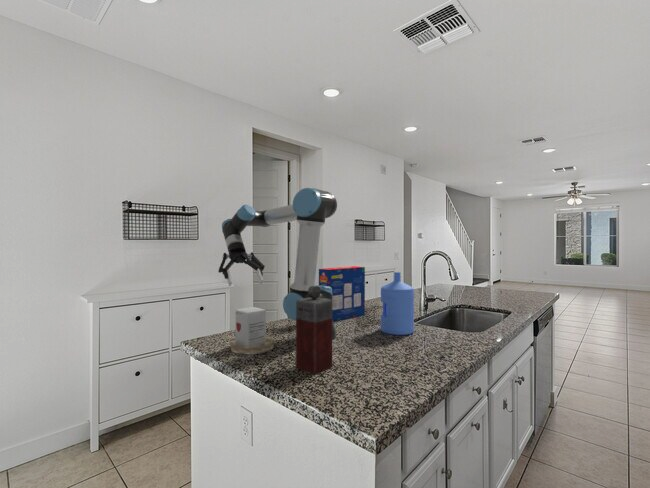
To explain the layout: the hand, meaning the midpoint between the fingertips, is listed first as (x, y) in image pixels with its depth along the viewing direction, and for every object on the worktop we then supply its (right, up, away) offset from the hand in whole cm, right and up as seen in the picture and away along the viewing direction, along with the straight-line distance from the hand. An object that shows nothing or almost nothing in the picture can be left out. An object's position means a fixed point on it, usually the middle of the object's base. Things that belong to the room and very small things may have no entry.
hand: (246, 283), depth 148 cm
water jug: (+68, -25, +18) cm, 75 cm away
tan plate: (+4, -25, -7) cm, 27 cm away
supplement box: (+3, -25, -7) cm, 26 cm away
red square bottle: (+29, -26, -28) cm, 48 cm away
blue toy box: (+43, -25, +47) cm, 68 cm away
